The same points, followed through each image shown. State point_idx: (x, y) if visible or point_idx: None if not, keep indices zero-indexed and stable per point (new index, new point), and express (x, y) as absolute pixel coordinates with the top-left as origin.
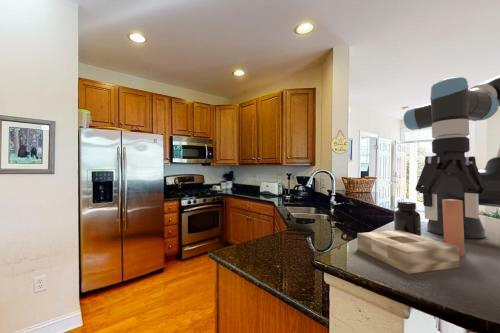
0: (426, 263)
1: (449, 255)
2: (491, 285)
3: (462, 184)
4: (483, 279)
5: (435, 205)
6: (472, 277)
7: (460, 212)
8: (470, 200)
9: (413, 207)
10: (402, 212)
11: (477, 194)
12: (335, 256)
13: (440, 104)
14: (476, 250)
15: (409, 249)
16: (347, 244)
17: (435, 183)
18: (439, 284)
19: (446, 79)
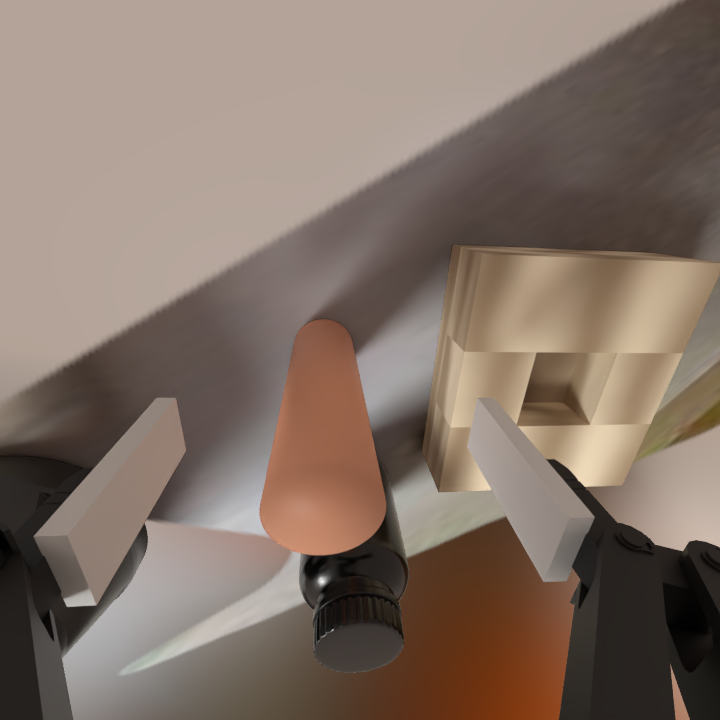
0: (606, 253)
1: (517, 252)
2: (532, 98)
3: (70, 714)
4: (498, 142)
5: (533, 452)
6: (512, 167)
7: (327, 410)
8: (124, 510)
9: (359, 597)
10: (400, 580)
11: (51, 528)
12: (690, 412)
13: None
14: (196, 353)
15: (681, 286)
16: None
17: (660, 634)
18: (661, 162)
19: None
